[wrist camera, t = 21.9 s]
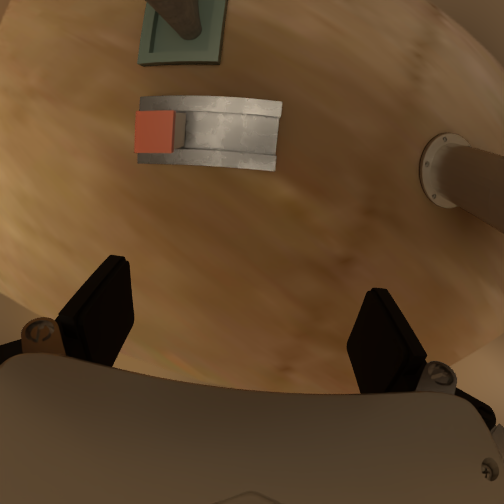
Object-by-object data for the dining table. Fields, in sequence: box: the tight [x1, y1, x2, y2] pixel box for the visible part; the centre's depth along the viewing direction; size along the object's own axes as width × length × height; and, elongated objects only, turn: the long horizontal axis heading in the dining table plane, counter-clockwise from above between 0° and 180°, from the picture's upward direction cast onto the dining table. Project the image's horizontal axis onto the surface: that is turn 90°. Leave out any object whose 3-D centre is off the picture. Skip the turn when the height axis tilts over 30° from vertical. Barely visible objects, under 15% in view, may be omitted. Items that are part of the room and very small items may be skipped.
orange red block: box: [134, 110, 186, 153], centre depth 33 cm, size 4×5×7 cm
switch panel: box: [138, 96, 282, 171], centre depth 36 cm, size 18×9×4 cm, turn 85°
